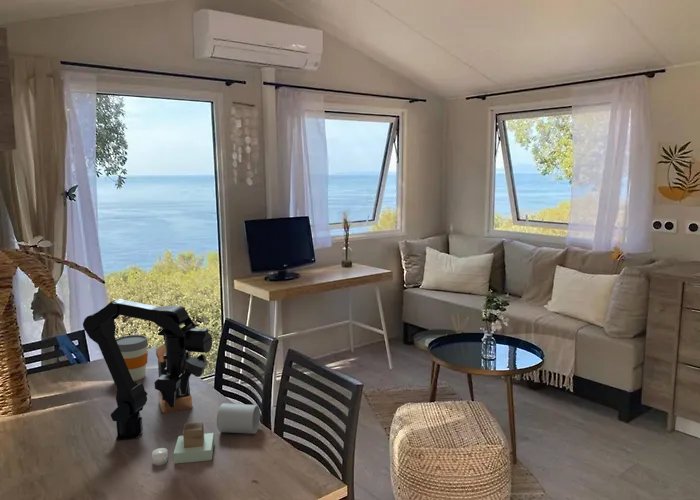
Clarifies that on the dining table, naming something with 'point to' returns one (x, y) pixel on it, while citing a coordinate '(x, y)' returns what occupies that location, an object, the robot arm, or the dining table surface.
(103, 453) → the dining table surface
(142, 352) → the reusable coffee cup
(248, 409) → the mug
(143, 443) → the dining table surface
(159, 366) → the whiskey bottle
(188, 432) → the walnut cube
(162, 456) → the cream tealight
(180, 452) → the base slab
